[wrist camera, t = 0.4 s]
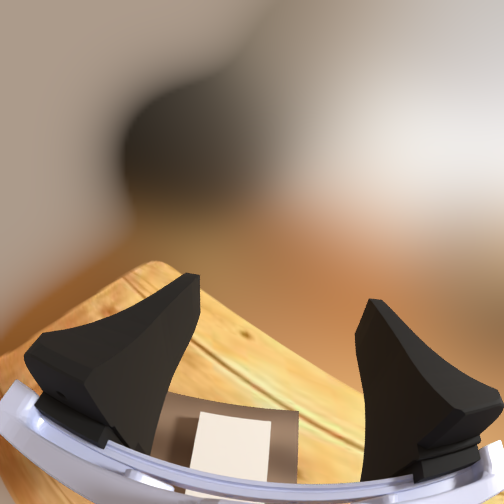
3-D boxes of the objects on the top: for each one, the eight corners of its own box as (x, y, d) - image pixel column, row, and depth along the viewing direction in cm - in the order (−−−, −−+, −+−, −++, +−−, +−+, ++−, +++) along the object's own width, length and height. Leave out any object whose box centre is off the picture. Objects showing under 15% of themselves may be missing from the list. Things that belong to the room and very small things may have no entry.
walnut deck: (285, 522, 15) (294, 524, 13) (132, 498, 14) (124, 498, 13) (290, 420, 24) (298, 411, 23) (158, 398, 24) (153, 387, 22)
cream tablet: (259, 505, 15) (264, 505, 13) (186, 495, 14) (184, 495, 13) (266, 427, 21) (271, 421, 20) (200, 418, 21) (200, 411, 20)
